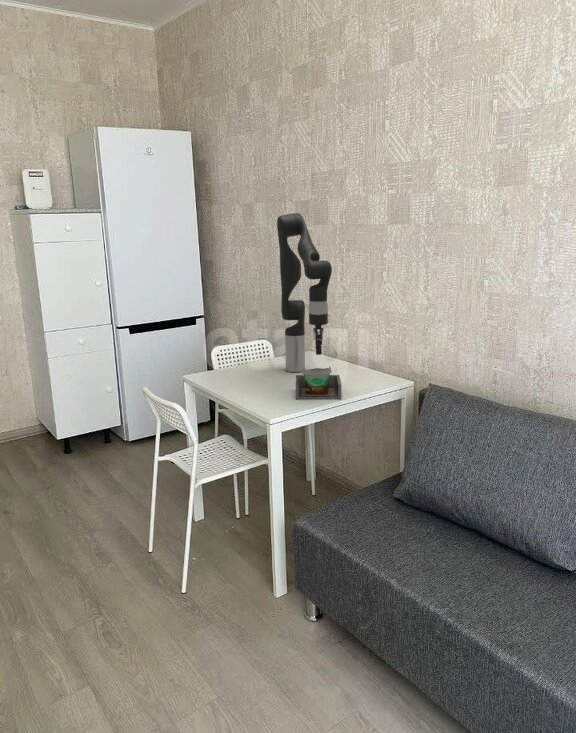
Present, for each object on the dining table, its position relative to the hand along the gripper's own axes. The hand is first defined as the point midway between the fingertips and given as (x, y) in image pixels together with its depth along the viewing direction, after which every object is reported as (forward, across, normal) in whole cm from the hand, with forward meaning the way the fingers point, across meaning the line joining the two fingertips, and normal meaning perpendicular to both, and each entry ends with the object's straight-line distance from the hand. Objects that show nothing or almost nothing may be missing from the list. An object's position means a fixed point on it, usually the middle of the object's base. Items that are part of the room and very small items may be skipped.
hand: (318, 352), depth 241 cm
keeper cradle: (+18, -1, 0) cm, 18 cm away
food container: (+17, +1, 0) cm, 17 cm away
